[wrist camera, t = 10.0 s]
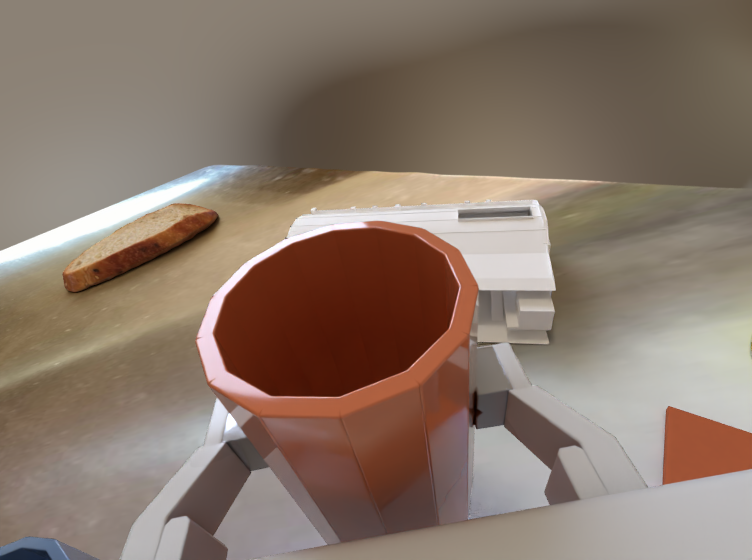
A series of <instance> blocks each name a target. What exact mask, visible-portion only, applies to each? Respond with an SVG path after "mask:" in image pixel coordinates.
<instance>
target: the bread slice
mask: <svg viewBox="0 0 752 560" xmlns="http://www.w3.org/2000/svg"><path fill="white" fill-rule="evenodd" d="M217 217H218V214H217V213H216V212H215V211H213V210H209V209H206V208H203V207H200V206H196V205H191V204H171V205H169V206H167V207H165V208H162V209H160V210H157V211H155V212H152V213H149V214H146V215H145V216H143V217H141V218H139V219H137V220H135V221H134V222H132V223H129V224H127V225H125V226H123V227H121V228H120V229H118V230H116V231H115V232H114V233H113V234H111V235H110V236H108V237H106V238H104V239H103V240H101V241H100V242H98V243H96V244H95V245H93V246H92V247H90V248H89V249H87V250H86V251H84V252H83V253H82V254H81V255H80V256H79V257H77V258H76V259H75V260H73V261H72V262H71V263H70V264H69V265H68V266H67V267H66V269H65V270H64V272H63V280H64V285H65V288H66V289H67V290H68V291H71V292H78V291H81V290H84V289H87V288H88V287H90V286H93V285H96V284H99V283H101V282H103V281H106V280H109V279H112V278H113V277H115V276H117V275H120V274H123V273H125V272H126V271H128V270H130V269H132V268H134V267H137V266H139V265H141V264H143V263H145V262H147V261H150V260H152V259H154V258H155V257H157V256H159V255H161V254H163V253H166V252H167V251H169V250H170V249H172V248H174V247H177V246H179V245H181V244H182V243H183V242H185V241H187V240H189V239H192V238H193V237H194V236H195V235H196V234H197V233H199V232H201V231H203V230H205V229H207V228H208V227H209V226H210V225H211V224H212V223H213V222H214V221H215V220H216V218H217Z"/></svg>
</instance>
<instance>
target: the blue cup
mask: <svg viewBox="0 0 752 560" xmlns="http://www.w3.org/2000/svg"><path fill="white" fill-rule="evenodd" d="M0 560H99V559H97V558H95V557H93V556H91V555H88V554H86V553H84V552H82V551H80V550H78V549H75V548H73V547H71V546H69V545H67V544H65V543H62V542H60V541H58V540H56V539H49V538H39V537H25V538H22V539H20V540H17V541H15V542H12V543H10V544H7V545H5V546H2V547H0Z"/></svg>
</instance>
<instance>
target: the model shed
mask: <svg viewBox="0 0 752 560" xmlns="http://www.w3.org/2000/svg"><path fill="white" fill-rule="evenodd" d="M372 207H373V208H358V209H356V207H351V208H350V209H338V210H318V211H317V208H312V209H311V214H304V215H302V216H300V217H299V218H296V220H295V222H294V223H293V225H292V226H290V230H289V233H288V236H287V237H285V239H288V238H290V237H293V236H296V235H299V234H303V233H306V232H309V231H312V230H316V229H319V228H322V227H325V226H329V225H334V224H341V223H353V222H366V221H386V222H391V223H397V224H402V225H408V226H413V227H419V228H423V229H425V230H427V231H429V232H430V233H432V234H434V235H435V236H437V237H439V238H441V239H442V240H444V241H446V242H447V243H449V244H451V245H452V246H454V247H456V248H457V249H458V250H459V251H460V252H461V254H462V256H463V257H464V259H465V261H466V263H467V265H468V267H469V269H470V271H471V273H472V274H473V276H474V278H475V280H476V282H477V284H478V288H479V305H478V337H477V342H496V343H505V342H508V343H525V344H549V340H548V336H547V332H546V330H551V327H552V322H553V318H554V313H555V310H554V306H553V303H552V299H551V293H552V291H556V287H555V280H554V275H553V271H552V266H551V262H550V257H549V252H550V247H551V244H550V241H549V238H548V224H547V218H546V215H545V212H544V209H543V207H542V206H541V205H539V204H538V201H537V200H518V201H498V202H491V200H486V202H478V203H470V201H465V203H458V204H438V205H426V203H421V205H418V206H400V204H395V207H378V205H376V206H372Z"/></svg>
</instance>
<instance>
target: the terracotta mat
mask: <svg viewBox="0 0 752 560" xmlns="http://www.w3.org/2000/svg"><path fill="white" fill-rule="evenodd" d="M749 469H752V433H749V432H746V431H743V430H740V429H737V428H734V427H731V426H728V425H725V424H722V423H719V422H716V421H713V420H710V419H707V418H704V417H701V416H698V415H694V414H691V413H688V412H685V411H682V410H679V409H676V408H673V407H670V406H668V408H667V409H666V424H665V444H664V465H663V485H665V484H671V483H676V482H682V481H688V480H693V479H699V478H704V477H710V476H715V475H721V474H727V473H732V472H738V471H743V470H749Z"/></svg>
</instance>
